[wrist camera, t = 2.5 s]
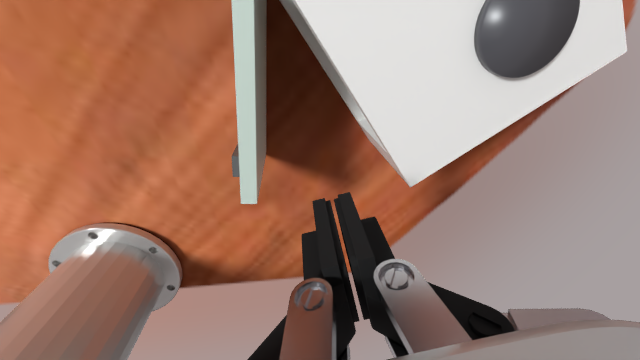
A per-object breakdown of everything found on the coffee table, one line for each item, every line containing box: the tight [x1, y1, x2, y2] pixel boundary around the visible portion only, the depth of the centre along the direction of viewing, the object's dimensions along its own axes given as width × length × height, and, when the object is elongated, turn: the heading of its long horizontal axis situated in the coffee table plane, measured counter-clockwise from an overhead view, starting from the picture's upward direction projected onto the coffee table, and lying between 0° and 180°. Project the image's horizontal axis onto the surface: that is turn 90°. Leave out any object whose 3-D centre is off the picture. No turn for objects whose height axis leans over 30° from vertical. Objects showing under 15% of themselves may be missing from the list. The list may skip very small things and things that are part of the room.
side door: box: [232, 0, 267, 204], centre depth 19 cm, size 2×13×9 cm, turn 175°
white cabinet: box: [279, 0, 627, 187], centre depth 17 cm, size 14×16×11 cm
